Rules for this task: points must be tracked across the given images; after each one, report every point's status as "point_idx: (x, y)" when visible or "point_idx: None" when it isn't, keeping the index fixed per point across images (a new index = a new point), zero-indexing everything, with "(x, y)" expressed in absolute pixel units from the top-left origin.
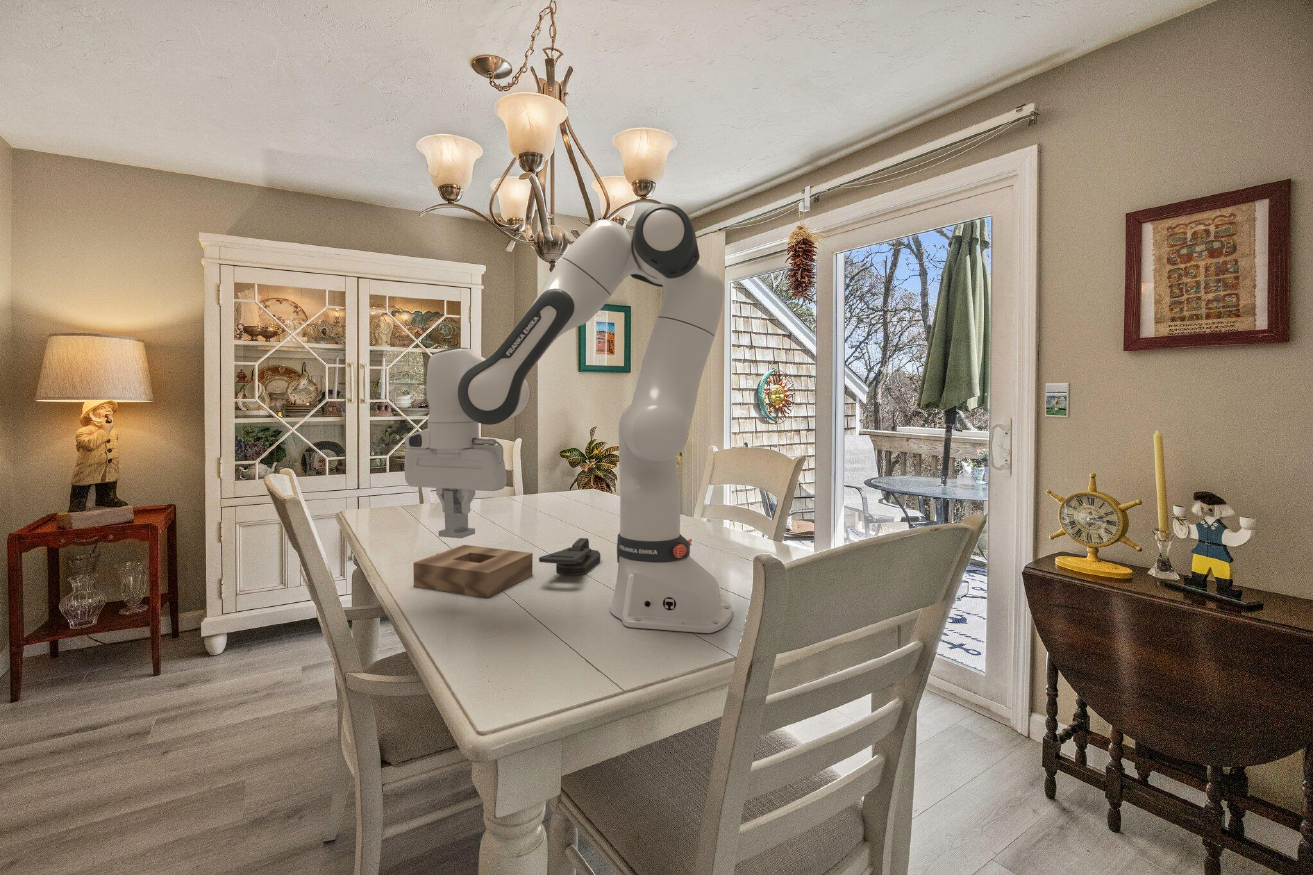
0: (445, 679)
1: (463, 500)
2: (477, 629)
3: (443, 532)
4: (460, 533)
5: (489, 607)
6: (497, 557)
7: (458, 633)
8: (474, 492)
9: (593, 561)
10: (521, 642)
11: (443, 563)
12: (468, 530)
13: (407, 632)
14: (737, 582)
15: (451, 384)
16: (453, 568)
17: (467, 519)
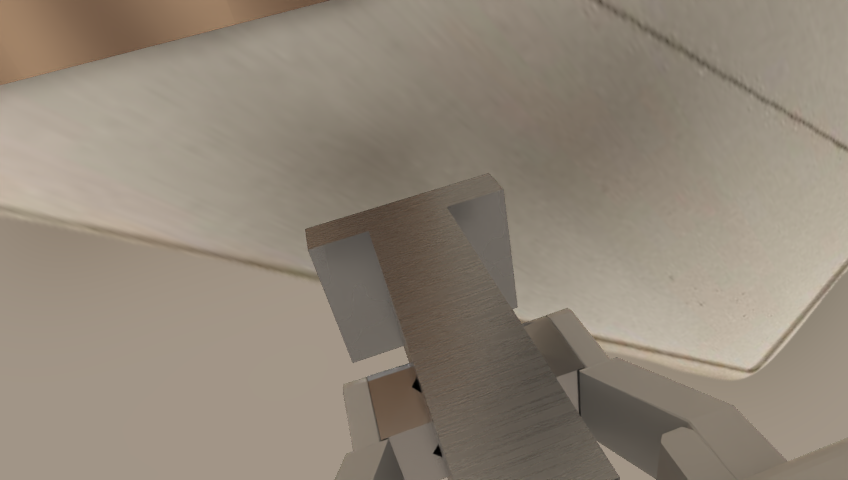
0: (635, 345)
1: (630, 453)
2: (541, 192)
3: (390, 346)
4: (512, 307)
5: (446, 50)
6: None
7: (518, 236)
8: (745, 430)
9: None
10: (681, 171)
11: (1, 15)
12: (509, 249)
13: None
14: None
15: None
16: (159, 43)
17: (468, 245)
